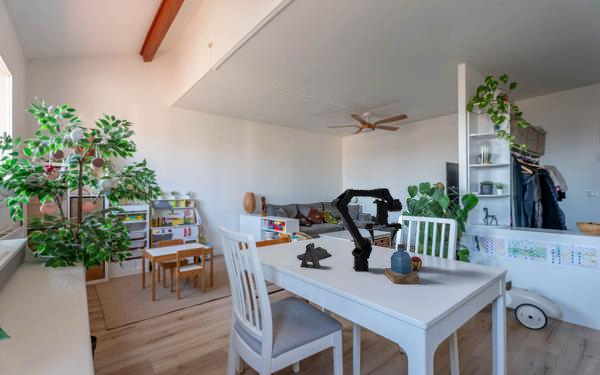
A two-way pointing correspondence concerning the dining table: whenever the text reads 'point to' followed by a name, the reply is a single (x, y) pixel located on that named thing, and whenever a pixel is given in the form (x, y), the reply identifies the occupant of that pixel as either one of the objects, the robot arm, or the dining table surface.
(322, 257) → the stegosaurus figurine
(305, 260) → the phone stand
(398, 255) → the perfume bottle
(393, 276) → the walnut plinth
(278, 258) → the dining table surface
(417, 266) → the kendama
